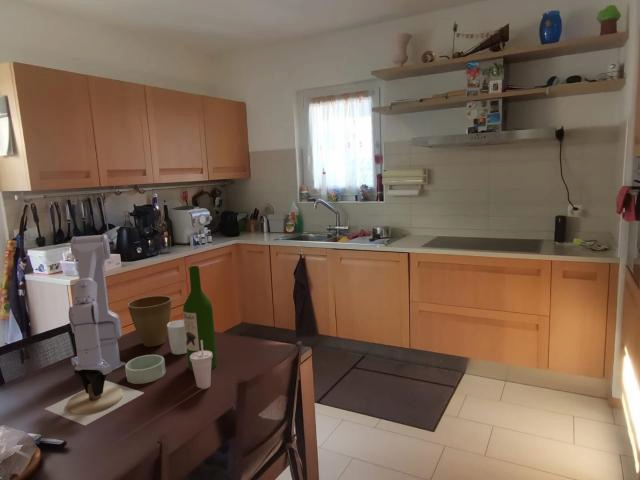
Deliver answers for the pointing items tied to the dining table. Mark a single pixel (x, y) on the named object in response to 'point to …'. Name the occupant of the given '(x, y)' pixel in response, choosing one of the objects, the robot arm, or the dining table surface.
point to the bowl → (145, 369)
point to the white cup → (177, 337)
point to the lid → (94, 400)
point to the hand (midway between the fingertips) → (94, 393)
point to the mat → (85, 419)
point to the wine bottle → (198, 320)
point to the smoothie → (202, 367)
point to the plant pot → (151, 318)
